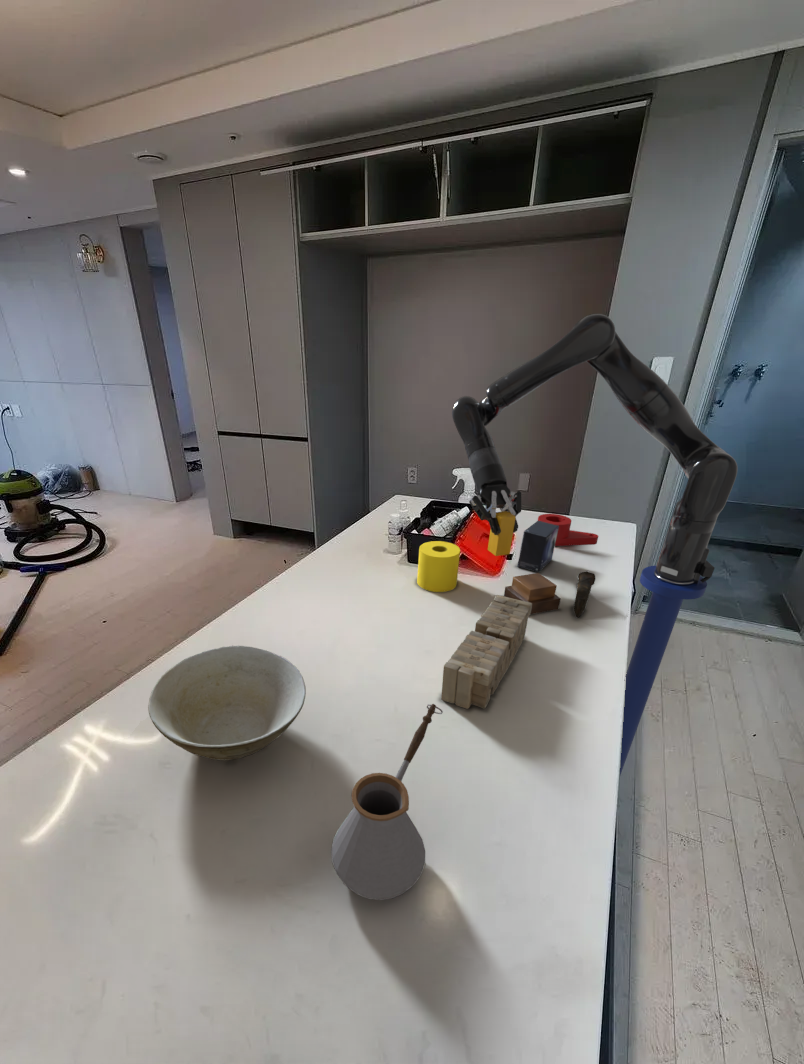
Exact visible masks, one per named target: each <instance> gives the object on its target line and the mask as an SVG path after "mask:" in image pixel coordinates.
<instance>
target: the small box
mask: <svg viewBox="0 0 804 1064" xmlns="http://www.w3.org/2000/svg"><path fill="white" fill-rule="evenodd" d="M558 529H559V526H558V525H554V524H549V523H546V522H542V521H538V520H536V521H535V522H534V523H533V524H531V525H530V526H529V527H527V528H526V529H525V530H524V531H523V534H522V538H521V539H522V540H521V545H520V551H519V556H518V561H517V565H516V567H518V568H522V569H525V570H529V571H532V572H534V573H540V572H541V571H542V570H543V569H544V568H545V567H546V566H547V565H548V564H549V563H550V562H551V561H552V560H553V556H554V551H555V547H556V546H555V542H556V538H557V533H558Z"/></svg>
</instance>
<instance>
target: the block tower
mask: <svg viewBox="0 0 804 1064" xmlns="http://www.w3.org/2000/svg"><path fill="white" fill-rule="evenodd" d="M531 609H532V603H529V602H525V601H521V600H516V599H512V598H508V597H504V595H499V594H496V595H495V597H494V598H493V600H492V601H491V602H490V603H489V606H488V607H487V608H486V609H485V611H484V612H483V613H482V615H481V616H480V618H479V619H478V620H477V621H476V622H475V626H474V630H470V632H469V633H468V634H467V635H466V636H465V638H464V639H463V641H461V643H460V644H459V645H458V647H457V648H456V650H455V651H454V652H453V654H452V655H451V656H450V658H448V660H447V661H446V662H445V663H444V664H443V669H442V683H441V695H440V699H441V700H442V701H444V702H447V703H450V704H455V706H457V707H461V708H462V709H463V708H464V709H466V710H468V709H470V708H471V706H472V705H473V706H476V707H478V708H481V709H484V710H485V709H486V708H487V707H488V703H489V702H490V700H491V696H492V695H494V694H495V691H496V690H497V689H498V687H499V685H500V682H502V680H503V677H504V676H505V674H506V673H507V672H508V669H510V665H511V664H512V662H513V660H514V659H515V657H516V656H517V653H518V651H519V649H520V648H521V645H522V643H523V641H524V639H525V636H526V631H527V625H528V620H529V617H530V616H531V615H532V614H531ZM530 614H531V615H530Z"/></svg>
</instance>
